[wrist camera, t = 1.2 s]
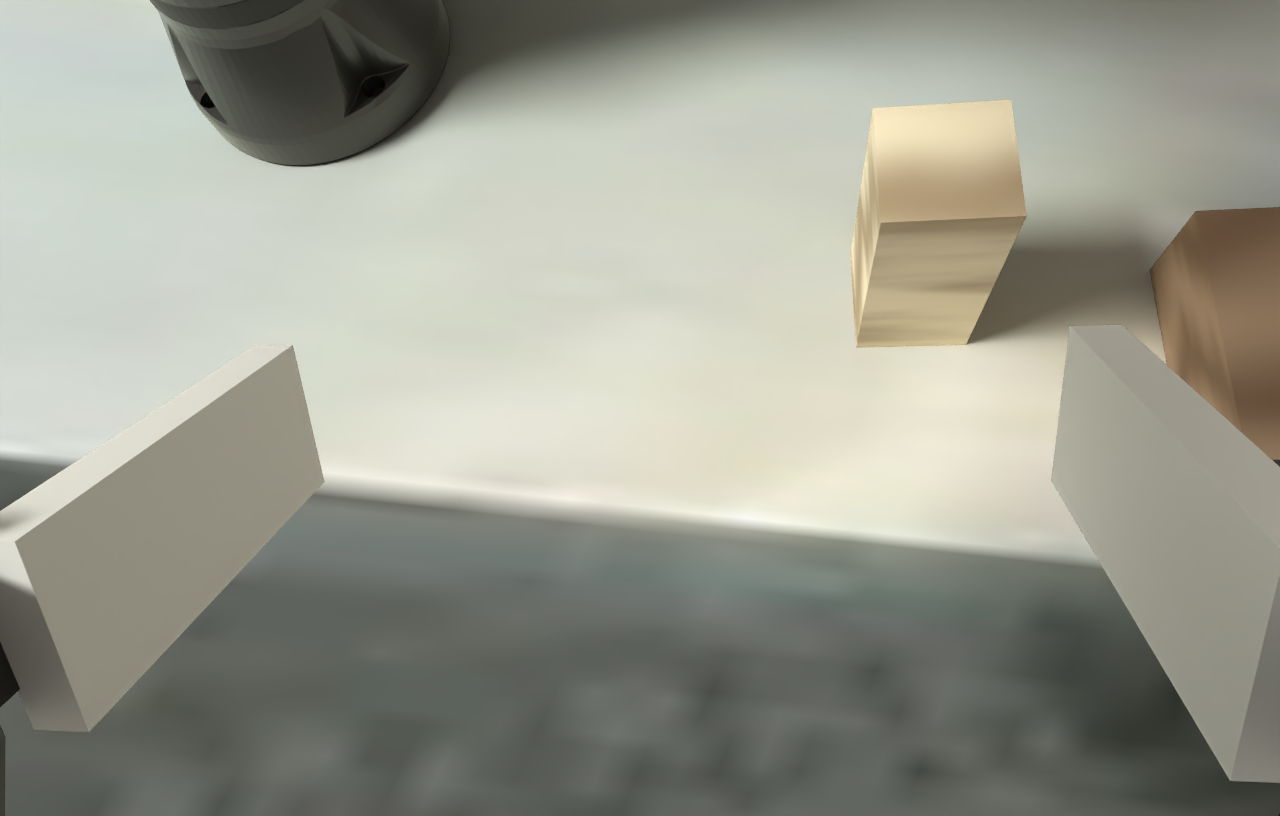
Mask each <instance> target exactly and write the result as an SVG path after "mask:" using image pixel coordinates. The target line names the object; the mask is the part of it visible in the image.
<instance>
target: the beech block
mask: <svg viewBox="0 0 1280 816" xmlns="http://www.w3.org/2000/svg"><path fill="white" fill-rule="evenodd" d="M1025 218H1026V209H1025V201H1024V194H1023V186H1022V179H1021V171H1020V164H1019V156H1018V149H1017V141H1016V134H1015V126H1014V119H1013V111H1012V104H1011V100H996V101H980V102H964V103H948V104H932V105H916V106H900V107H884V108H873V111H872V117H871V124H870V130H869V137H868V144H867V150H866V157H865V163H864V170H863V176H862V183H861V190H860V196H859V203H858V209H857V216H856V223H855V229H854V236H853V242H852V249H851V269H852V287H853V305H854V323H855V341H856V347H891V346H927V345H963V344H967V342H968V339H969V337H970V335H971V333H972V331H973V329H974V327H975V325H976V322H977V320H978V318H979V316H980V314H981V312H982V310H983V308H984V305H985V303H986V301H987V299H988V297H989V295H990V293H991V290H992V288H993V286H994V284H995V282H996V280H997V278H998V276H999V273H1000V271H1001V269H1002V267H1003V265H1004V263H1005V261H1006V259H1007V256H1008V254H1009V252H1010V250H1011V248H1012V246H1013V244H1014V242H1015V239H1016V237H1017V235H1018V233H1019V231H1020V229H1021V227H1022V225H1023V222H1024V220H1025Z"/></svg>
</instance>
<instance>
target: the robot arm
mask: <svg viewBox="0 0 1280 816" xmlns="http://www.w3.org/2000/svg"><path fill="white" fill-rule="evenodd" d="M150 1H151V2H152V4H153V5H154V6H155V7H156V9H157V10H158V11H159V14H160V16H161V19H162V21H163V24H164V27H165V29H166V32H167V35H168V37H169V40H170V42H171V45H172V48H173V50H174V53H175V56H176V58H177V61H178V64H179V66H180V69H181V71H182V74H183V77H184V79H185V82H186V85H187V87H188V90H189V92H190V94H191V96H192V98H193V100H194V101H195V103H196V104H197V106H198V108H199V109H200V110H201V112H202V113H203V114H204V115H205V117H206V118H207V119H208V120H209V121H210V122H211V123H212V124H213V126H214V127H215V128H216V129H217V130H218V131H219V132H220V133H221V135H222V136H223V137H224V138H225V139H226V140H227V141H228V142H230V143H231V144H232V145H233V146H235V147H236V148H237V149H239V150H241V151H242V152H244V153H246V154H248V155H250V156H252V157H255V158H258V159H260V160H264V161H267V162H272V163H277V164H285V165H309V164H318V163H324V162H329V161H333V160H337V159H340V158H344V157H347V156H349V155H352V154H355V153H357V152H360V151H362V150H364V149H366V148H368V147H370V146H372V145H374V144H376V143H377V142H379V141H381V140H383V139H384V138H386V137H387V136H389V135H390V134H391V133H393V132H394V131H396V130H397V129H398V128H399V127H401V126H402V125H403V124H404V123H405V122H406V121H407V120H409V119H410V118H411V117H412V116H413V115H414V114H415V113H416V112H417V110H418V109H419V108H420V107H421V106H422V105H423V103H424V102H425V101H426V99H427V98H428V97H429V95H430V94H431V92H432V91H433V89H434V87H435V86H436V84H437V82H438V80H439V78H440V76H441V74H442V71H443V69H444V66H445V63H446V59H447V55H448V50H449V42H450V29H449V22H448V17H447V13H446V10H445V8H444V5H443V3H442V1H441V0H150ZM1051 481H1052V483H1053V485H1054V486H1055V488H1056V490H1057V491H1058V493H1059V495H1060V496H1061V498H1062V500H1063V501H1064V503H1065V505H1066V506H1067V508H1068V510H1069V511H1070V513H1071V515H1072V516H1073V518H1074V520H1075V521H1076V523H1077V525H1078V527H1079V528H1080V530H1081V532H1082V533H1083V535H1084V537H1085V538H1086V540H1087V542H1088V543H1089V545H1090V547H1091V548H1092V550H1093V552H1094V553H1095V555H1096V557H1097V558H1098V560H1099V562H1100V563H1101V565H1102V567H1103V568H1104V570H1105V572H1106V573H1107V575H1108V577H1109V579H1110V580H1111V582H1112V584H1113V585H1114V587H1115V589H1116V590H1117V592H1118V594H1119V595H1120V597H1121V599H1122V600H1123V602H1124V604H1125V605H1126V607H1127V609H1128V610H1129V612H1130V614H1131V615H1132V617H1133V619H1134V620H1135V622H1136V624H1137V626H1138V627H1139V629H1140V631H1141V632H1142V634H1143V636H1144V637H1145V639H1146V641H1147V642H1148V644H1149V646H1150V647H1151V649H1152V651H1153V652H1154V654H1155V656H1156V657H1157V659H1158V661H1159V662H1160V664H1161V666H1162V667H1163V669H1164V671H1165V672H1166V674H1167V676H1168V678H1169V679H1170V681H1171V683H1172V684H1173V686H1174V688H1175V689H1176V691H1177V693H1178V694H1179V696H1180V698H1181V699H1182V701H1183V703H1184V704H1185V706H1186V708H1187V709H1188V711H1189V713H1190V714H1191V716H1192V718H1193V719H1194V721H1195V723H1196V725H1197V726H1198V728H1199V730H1200V731H1201V733H1202V735H1203V736H1204V738H1205V740H1206V741H1207V743H1208V745H1209V746H1210V748H1211V750H1212V751H1213V753H1214V755H1215V756H1216V758H1217V760H1218V761H1219V763H1220V765H1221V766H1222V768H1223V770H1224V771H1225V773H1226V775H1227V777H1228V778H1229V780H1230V781H1247V782H1271V783H1280V460H1272V459H1270V458H1269V457H1268V456H1267V455H1266V454H1265V453H1264V452H1263V451H1262V450H1260V449H1259V448H1258V447H1257V446H1256V445H1255V444H1254V443H1253V442H1252V441H1250V440H1249V439H1248V438H1247V437H1246V436H1245V435H1244V434H1243V433H1242V432H1240V431H1239V430H1238V429H1237V428H1236V427H1235V426H1234V425H1233V424H1232V423H1230V422H1229V421H1228V420H1227V419H1226V418H1225V417H1224V416H1223V415H1221V414H1220V413H1219V412H1218V411H1217V410H1216V409H1215V408H1214V407H1213V406H1211V405H1210V404H1209V403H1208V402H1207V401H1206V400H1205V399H1204V398H1203V397H1201V396H1200V395H1199V394H1198V393H1197V392H1196V391H1195V390H1194V389H1193V388H1191V387H1190V386H1189V385H1188V384H1187V383H1186V382H1185V381H1184V380H1183V379H1181V378H1180V377H1179V376H1178V375H1177V374H1176V373H1175V372H1174V371H1173V370H1171V369H1170V368H1169V367H1168V366H1167V365H1166V364H1165V363H1164V362H1163V361H1161V360H1160V359H1159V358H1158V357H1157V356H1156V355H1155V354H1154V353H1153V352H1151V351H1150V350H1149V349H1148V348H1147V347H1146V346H1145V345H1144V344H1143V343H1141V342H1140V341H1139V340H1138V339H1137V338H1136V337H1135V336H1134V335H1133V334H1131V333H1130V332H1129V331H1128V330H1127V329H1126V328H1125V327H1124V326H1123V325H1081V326H1070V328H1069V336H1068V344H1067V353H1066V361H1065V369H1064V378H1063V386H1062V395H1061V403H1060V411H1059V420H1058V428H1057V436H1056V445H1055V453H1054V462H1053V470H1052V478H1051ZM323 483H324V478H323V474H322V469H321V465H320V461H319V456H318V452H317V448H316V443H315V439H314V435H313V430H312V426H311V422H310V417H309V413H308V409H307V404H306V400H305V396H304V391H303V387H302V383H301V378H300V374H299V370H298V365H297V361H296V357H295V352H294V348H293V345H268V346H252V347H251V348H249V349H247V350H246V351H244V352H243V353H241V354H240V355H238V356H237V357H235V358H234V359H232V360H231V361H229V362H228V363H226V364H225V365H223V366H222V367H220V368H218V369H217V370H215V371H214V372H212V373H211V374H209V375H208V376H206V377H205V378H203V379H202V380H200V381H199V382H197V383H196V384H194V385H192V386H191V387H189V388H188V389H186V390H185V391H183V392H182V393H180V394H179V395H177V396H176V397H174V398H173V399H171V400H170V401H168V402H166V403H165V404H163V405H162V406H160V407H159V408H157V409H156V410H154V411H153V412H151V413H150V414H148V415H147V416H145V417H144V418H142V419H140V420H139V421H137V422H136V423H134V424H133V425H131V426H130V427H128V428H127V429H125V430H124V431H122V432H121V433H119V434H118V435H116V436H115V437H113V438H111V439H110V440H108V441H107V442H105V443H104V444H102V445H101V446H99V447H98V448H96V449H95V450H93V451H92V452H90V453H89V454H87V455H85V456H84V457H82V458H81V459H79V460H78V461H76V462H75V463H73V464H72V465H70V466H69V467H67V468H66V469H64V470H63V471H61V472H59V473H58V474H56V475H55V476H53V477H52V478H50V479H49V480H47V481H46V482H44V483H43V484H41V485H40V486H38V487H37V488H35V489H33V490H32V491H30V492H29V493H27V494H26V495H24V496H23V497H21V498H20V499H18V500H17V501H15V502H14V503H12V504H11V505H9V506H8V507H6V508H4V509H3V510H1V511H0V707H1V706H2V705H3V704H4V703H5V702H6V701H8V700H9V699H10V698H11V697H12V696H13V695H14V694H15V693H16V692H17V691H18V693H19V695H20V697H21V700H22V702H23V704H24V707H25V709H26V712H27V714H28V716H29V719H30V721H31V723H32V726H33V728H34V730H53V731H76V732H90V730H91V729H92V728H93V727H94V726H95V725H96V724H97V723H98V722H99V721H100V720H101V719H102V718H103V717H104V716H105V715H106V713H107V712H108V711H109V710H110V709H111V708H112V707H113V706H114V705H115V704H116V703H117V702H118V701H119V700H120V699H121V698H122V696H123V695H124V694H125V693H126V692H127V691H128V690H129V689H130V688H131V687H132V686H133V685H134V684H135V683H136V682H137V680H138V679H139V678H140V677H141V676H142V675H143V674H144V673H145V672H146V671H147V670H148V669H149V668H150V667H151V666H152V665H153V663H154V662H155V661H156V660H157V659H158V658H159V657H160V656H161V655H162V654H163V653H164V652H165V651H166V650H167V649H168V647H169V646H170V645H171V644H172V643H173V642H174V641H175V640H176V639H177V638H178V637H179V636H180V635H181V634H182V633H183V632H184V630H185V629H186V628H187V627H188V626H189V625H190V624H191V623H192V622H193V621H194V620H195V619H196V618H197V617H198V616H199V615H200V613H201V612H202V611H203V610H204V609H205V608H206V607H207V606H208V605H209V604H210V603H211V602H212V601H213V600H214V599H215V597H216V596H217V595H218V594H219V593H220V592H221V591H222V590H223V589H224V588H225V587H226V586H227V585H228V584H229V583H230V582H231V580H232V579H233V578H234V577H235V576H236V575H237V574H238V573H239V572H240V571H241V570H242V569H243V568H244V567H245V566H246V564H247V563H248V562H249V561H250V560H251V559H252V558H253V557H254V556H255V555H256V554H257V553H258V552H259V551H260V550H261V549H262V547H263V546H264V545H265V544H266V543H267V542H268V541H269V540H270V539H271V538H272V537H273V536H274V535H275V534H276V533H277V532H278V530H279V529H280V528H281V527H282V526H283V525H284V524H285V523H286V522H287V521H288V520H289V519H290V518H291V517H292V516H293V514H294V513H295V512H296V511H297V510H298V509H299V508H300V507H301V506H302V505H303V504H304V503H305V502H306V501H307V500H308V499H309V497H310V496H311V495H312V494H313V493H314V492H315V491H316V490H317V489H318V488H319V487H320V486H321V485H322V484H323ZM0 816H5V735H4V733H3V731H2V728H1V726H0ZM1279 816H1280V814H1279Z"/></svg>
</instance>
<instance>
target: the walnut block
mask: <svg viewBox="0 0 1280 816" xmlns="http://www.w3.org/2000/svg"><path fill="white" fill-rule="evenodd" d="M1150 274H1151V279H1152V284H1153V290H1154V295H1155V301H1156V306H1157V312H1158V317H1159V323H1160V328H1161V334H1162V339H1163V345H1164V350H1165V356H1166V361H1167V366H1168V367H1169V368H1170V369H1171V370H1173V371H1174V372H1175V373H1176V374H1177V375H1178V376H1179V377H1180V378H1181V379H1183V380H1184V381H1185V382H1186V383H1187V384H1188V385H1189V386H1190V387H1191V388H1193V389H1194V390H1195V391H1196V392H1197V393H1198V394H1199V395H1200V396H1201V397H1203V398H1204V399H1205V400H1206V401H1207V402H1208V403H1209V404H1210V405H1211V406H1213V407H1214V408H1215V409H1216V410H1217V411H1218V412H1219V413H1220V414H1221V415H1223V416H1224V417H1225V418H1226V419H1227V420H1228V421H1229V422H1230V423H1232V424H1233V425H1234V426H1235V427H1236V428H1237V429H1238V430H1239V431H1240V432H1242V433H1243V434H1244V435H1245V436H1246V437H1247V438H1248V439H1249V440H1250V441H1252V442H1253V443H1254V444H1255V445H1256V446H1257V447H1258V448H1259V449H1260V450H1262V451H1263V452H1264V453H1265V454H1266V455H1267V456H1268V457H1269V458H1270V459H1272V460H1280V207H1274V208H1252V209H1230V210H1208V211H1195V213H1194V214H1193V215H1192V217H1191V218H1190V219H1189V220H1188V222H1187V223H1186V224H1185V226H1184V227H1183V228H1182V229H1181V231H1180V232H1179V233H1178V234H1177V236H1176V237H1175V238H1174V240H1173V241H1172V242H1171V243H1170V245H1169V246H1168V247H1167V249H1166V250H1165V251H1164V252H1163V254H1162V255H1161V256H1160V258H1159V259H1158V260H1157V261H1156V263H1155V264H1154V265H1153V267H1152V268H1151V269H1150Z"/></svg>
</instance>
